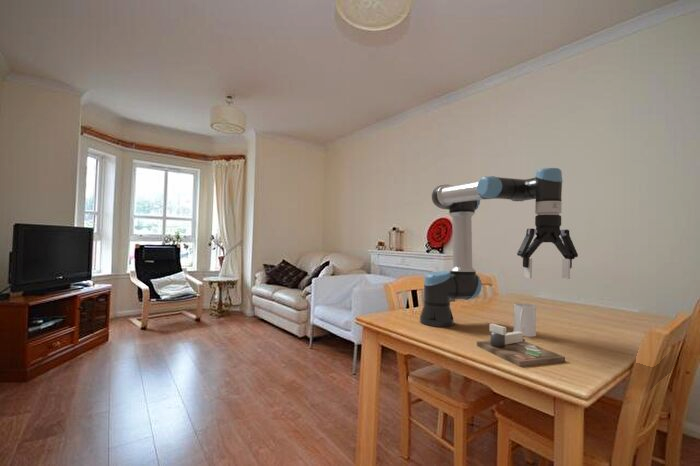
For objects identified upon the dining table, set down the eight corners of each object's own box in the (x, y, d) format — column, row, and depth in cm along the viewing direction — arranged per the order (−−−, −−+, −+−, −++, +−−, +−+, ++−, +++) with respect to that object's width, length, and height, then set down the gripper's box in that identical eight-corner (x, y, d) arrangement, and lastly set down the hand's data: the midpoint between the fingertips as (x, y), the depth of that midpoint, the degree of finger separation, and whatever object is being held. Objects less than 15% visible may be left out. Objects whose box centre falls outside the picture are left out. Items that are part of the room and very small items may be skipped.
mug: (530, 339, 126) (530, 309, 126) (507, 334, 132) (507, 305, 132) (539, 334, 134) (539, 305, 135) (517, 329, 141) (517, 302, 141)
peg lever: (499, 348, 109) (500, 328, 110) (486, 343, 114) (486, 324, 115) (531, 342, 117) (531, 323, 117) (517, 338, 122) (517, 320, 122)
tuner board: (476, 345, 118) (476, 340, 118) (516, 342, 123) (516, 337, 123) (519, 366, 98) (519, 361, 98) (565, 361, 103) (565, 356, 103)
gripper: (520, 212, 103) (519, 278, 103) (591, 215, 106) (590, 279, 106) (506, 214, 111) (505, 276, 111) (573, 216, 114) (572, 277, 113)
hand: (547, 278), depth 108 cm, fingers open, 13 cm apart
